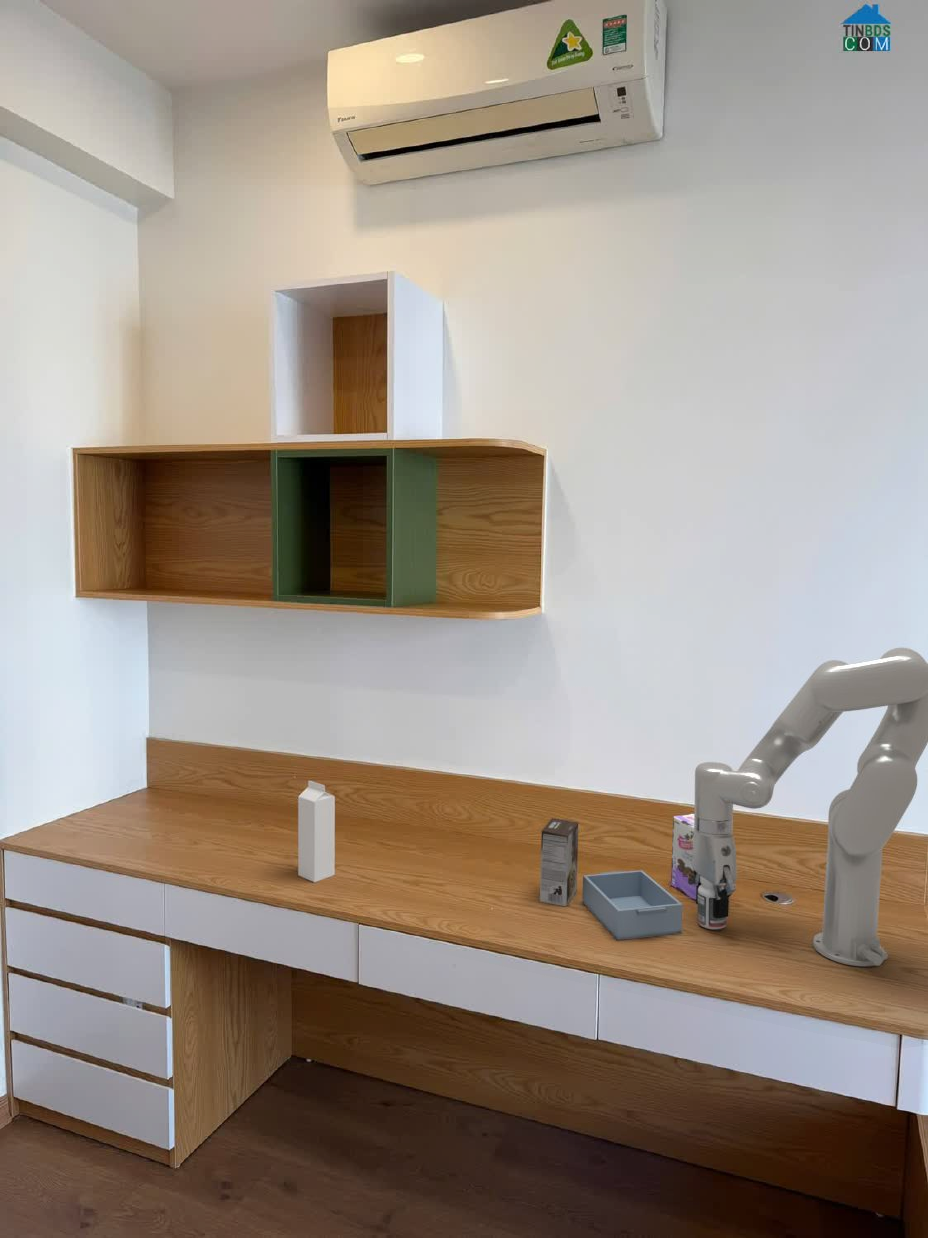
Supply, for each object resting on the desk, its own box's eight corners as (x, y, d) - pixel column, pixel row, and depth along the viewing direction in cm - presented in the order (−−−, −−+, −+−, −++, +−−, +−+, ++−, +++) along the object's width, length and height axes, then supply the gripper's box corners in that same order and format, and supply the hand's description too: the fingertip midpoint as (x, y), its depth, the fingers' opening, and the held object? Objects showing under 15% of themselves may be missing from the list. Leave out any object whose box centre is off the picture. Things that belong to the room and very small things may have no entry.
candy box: (669, 885, 194) (672, 815, 192) (690, 881, 196) (693, 812, 194) (706, 909, 181) (709, 835, 179) (729, 906, 183) (732, 832, 181)
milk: (314, 883, 192) (314, 788, 189) (297, 875, 195) (297, 783, 193) (335, 875, 196) (335, 782, 194) (318, 868, 200) (318, 777, 198)
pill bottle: (729, 922, 174) (730, 875, 173) (722, 932, 169) (723, 884, 168) (701, 916, 177) (702, 870, 176) (693, 926, 172) (694, 879, 171)
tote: (683, 935, 169) (685, 906, 168) (619, 942, 165) (620, 913, 165) (639, 894, 188) (640, 868, 187) (580, 900, 184) (581, 874, 184)
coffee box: (549, 886, 192) (551, 817, 190) (577, 891, 189) (579, 821, 188) (538, 902, 183) (540, 830, 182) (567, 907, 181) (569, 834, 179)
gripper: (754, 836, 164) (752, 926, 165) (707, 810, 180) (706, 892, 182) (719, 840, 162) (718, 931, 163) (675, 813, 179) (674, 896, 180)
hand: (711, 909), depth 173 cm, fingers closed on pill bottle, 5 cm apart
